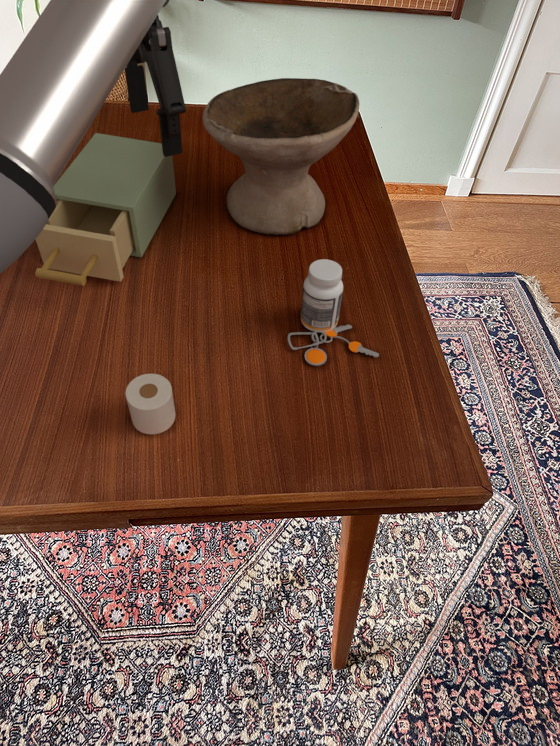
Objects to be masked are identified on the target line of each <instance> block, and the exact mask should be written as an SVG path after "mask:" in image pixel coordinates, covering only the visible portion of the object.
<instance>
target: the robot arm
mask: <svg viewBox="0 0 560 746" xmlns="http://www.w3.org/2000/svg"><path fill="white" fill-rule="evenodd" d="M169 2H170V0H49V2H48V3H47V5H46V6H45V8H44V9H43V10H42V12H41V14H40V15H39V16H38V18H37V20H36V21H35V23H34V24H33V26H32V27H31V28H30V30H29V31H28V32H27V34H26V36H25V37H24V39H23V40H22V42H21V43H20V44H19V46H18V48H17V49H16V50H15V52H14V54H12V57H11V58H10V59H9V60H8V62H7V64H6V65H5V66H4V68H3V69H2V71H1V73H0V275H1V274H2V273H3V272H5V271H6V270H7V269H8V268H10V267H11V265H13V264H14V263H15V262H16V261H17V260H18V259H19V258H21V256H22V255H23V254H24V253H25V252H26V251H27V249H29V248H30V246H31V245H32V244H33V243H34V242H35V241H36V238H37V236H38V235H39V234H40V232H41V231H42V230H43V228H44V227H45V225H46V223H47V222H48V220H49V218H50V216H51V215H52V213H53V211H54V210H55V208H56V206H57V204H58V201H57V197H56V194H55V191H54V185H55V184H56V183H57V181H58V180H59V179H60V177H61V176H62V175H61V174H62V173H63V171H64V170H65V168H66V166H67V164H68V163H69V161H70V159H71V158H72V156H73V155H74V154H75V152H76V150H77V148H78V147H79V145H80V143H81V141H82V140H83V139H84V137H85V135H86V133H87V132H88V130H89V128H90V127H91V125H92V124H93V122H94V120H95V119H96V117H97V116H98V114H99V112H100V110H101V109H102V108H103V105H104V104H105V102H106V101H107V99H108V97H109V96H110V94H111V92H112V91H113V89H114V87H115V86H116V84H117V82H118V81H119V79H120V78H121V76H122V74H123V73H124V74H125V75H124V76H125V81H126V82H125V83H126V88H127V95H128V101H129V109H130V112H131V113H132V114H136V113H141V112H145V111H149V110H150V107H149V99H148V91H147V83H146V75H145V67H144V66H143V65H142V64H145V63H146V65H147V68H148V72H149V75H150V79H151V81H152V86H153V88H154V92H155V95H156V98H157V101H158V105H159V108H158V109H157V110H156V111H155V113H156V115H157V116H158V122H159V131H160V132H159V133H160V139H161V140H160V141H161V143H162V150H163V155H164V156H165V157H168V156H175V155H180V154H183V142H182V131H181V130H182V129H181V118H180V117H181V116H180V114H184V113H185V114H186V112H187V107H186V103H185V99H184V94H183V90H182V85H181V81H180V76H179V71H178V67H177V63H176V57H175V53H174V49H173V41H172V31H171V29H170V27H169V26H163V23H162V21H161V20H160V18H159V17H160V16H159V13H160V11H161V10H162V9H163V8H165V7H166V6H167V5H169ZM138 64H140V65H138Z"/></svg>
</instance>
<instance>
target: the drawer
mask: <svg viewBox="0 0 560 746" xmlns="http://www.w3.org/2000/svg"><path fill="white" fill-rule="evenodd" d="M35 242H36V245H37V248H38V251H39V255H40V257H41V260H42V263H43V265H42V266H41V267H37V268H36V269H35V273H34V275H35V277H36V278H37V279H44V280H48V281H53V282H59V283H65V284H71V285H76V286H80V287H81V286H82V287H84V286H85V285H86V284H87V277H92V278H98V279H104V280H108V281H109V280H110V281H114V282H120V283H121V282H122V281H123V280H124V278H125V276H124V271H123V268H124V267H125V265H126V263H127V261H128V259H129V258H130V254H131V253H132V251H133V249H134V247H135V242H134V237H133V231H132V225H131V219H130V214H129V211H125V210H119V209H113V208H107V207H101V206H96V205H90V204H84V203H78V202H72V201H66V200H60V199H59V200H58V204H57V206H56V208H55V210H54V211H53V213H52V215H51V216H50V218H49V220H48V222H47V223H46V225H45V227H44V228H43V230H42V231H41V232H40V234H39V235H38V236H37V238H36V239H35Z"/></svg>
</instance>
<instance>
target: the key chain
mask: <svg viewBox="0 0 560 746" xmlns="http://www.w3.org/2000/svg"><path fill="white" fill-rule="evenodd" d="M351 329H353V326H352V325H351V324H345V325H339V326H336V327H335V328H334V329H332V330H330V331H326V332H323V331H314V332H313V331H297V332H296V331H295V332H293V331H292V332H289V333H288V334H287V343H288V346H289V347H290V349H291V350H293V351H298V350H299V349H300V350H301V349H304V348H308V349H307V350H306V351H305V352H304V357H303V358H304V360H305V361H306V363H307V364H308V365H311V366H315V367H319V366H322V365H325V363H326V362H327V359H328V354H327V353H326V351H325V350H323V349H322V348H319V345H321V344H324V343H325V344H328V343H331V342H332V341H333V339H340V340H342V341H344V342H346V343H347V345H348V350H350V352H352V353H355V354H357V353H359V352H360V353H361V354H365V355H366V356H368V355H369V356H370V357H371V356H372V357H373V358H378V357H379V356H380V353H379V352H376V351H374V350H371V349H368V348H366V347H364V346H363V344H362V343H361V342H359V341H355V340H354V341H349V340H348V339H347V338H344V337H343V336H341V335H340V336H339V335H338V334H339V333H341V332H344V331H348V330H351ZM319 332H320V333H319ZM318 333H319V334H320V336H318ZM296 335H297V336H298V335H299V336H301V335H302V336H303V335H308V336H309V335H310V337H311V340H312V341H313V343H312V344H307V345H303V346H299V347H298V346H295V347H294V346H293V344H292V342H291V336H296ZM322 337H323V338H322ZM328 337H329V339H330V340H327V338H328ZM309 347H310V348H309Z"/></svg>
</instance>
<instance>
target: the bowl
mask: <svg viewBox="0 0 560 746" xmlns="http://www.w3.org/2000/svg"><path fill="white" fill-rule="evenodd" d="M360 105H361V104H360V99H359V96H358V94H357V93H356V92H353V91H352V90H350V89H349V88H347V87H346V86H344V85H341V84H340V83H337V82H332V81H329V80H325V79H320V78H301V77H300V78H297V77H291V78H290V77H281V78H272V79H265V80H260V81H255V82H252V83H248V84H244V85H240V86H236V87H234V88H231V89H227V90H224V91H223V92H221V93H218V94H216V95H214V96H213V97H212V98H211V99H210V100H209V101H208V103H207V104H206V105H205V107H204V110H203V113H202V124H203V127H204V129H205V131H206V132H207V133H208V134H209V135H210V136H211V138H213V140H214V141H215V142H216V143H218V144H219V145H220V147H222V148H223V149H225V150H226V151H228V152H230V153H231V154H233V155H235V156H236V157H238V158H239V159H240V160H241V162H242V164H243V168H244V171H245V172H244V173H243V174H242V175H241V176H240V177H239V178H238V179H237V180H235V181H234V182H233V183H232V185H231V186H230V188H229V189H228V192H227V195H226V207H227V210H228V212H229V214H230V217H231V218H232V219H233V221H235V223H236V224H237V225H239V226H240V227H243V228H244V229H247V230H248V231H252V232H256V233H260V234H264V235H273V236H274V235H276V236H288V235H293V234H296V233H299V232H300V231H301V229H310V228H312V227H315V226H316V225H317V224H318V223H319V222H320V221H321V219H322V218H323V216H324V213H325V209H326V200H325V195H324V193H323V192H322V190H321V188H320V187H319V185H318V184H317V182H316V180H315V179H314V178H313V177H312V175H310V174H309V169H311V168H310V167H311V166H312V165H313V164H316V163H317V162H318V161H319V160H320V159H322V158H324V156H326V155H327V154H329V153H330V152H331V151H332V150H334V149H335V148H336V147H337V146H338V144H339V143H340V142H342V140H343V139H344V138H345V137H346V136H347V134H348V133H349V132H350V130H351V129H352V128H353V126H354V125H355V122H356V120H357V118H358V116H359V110H360Z"/></svg>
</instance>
